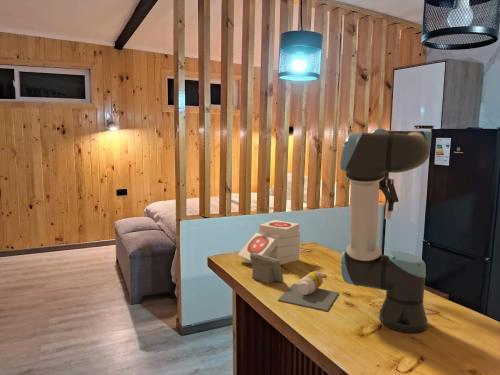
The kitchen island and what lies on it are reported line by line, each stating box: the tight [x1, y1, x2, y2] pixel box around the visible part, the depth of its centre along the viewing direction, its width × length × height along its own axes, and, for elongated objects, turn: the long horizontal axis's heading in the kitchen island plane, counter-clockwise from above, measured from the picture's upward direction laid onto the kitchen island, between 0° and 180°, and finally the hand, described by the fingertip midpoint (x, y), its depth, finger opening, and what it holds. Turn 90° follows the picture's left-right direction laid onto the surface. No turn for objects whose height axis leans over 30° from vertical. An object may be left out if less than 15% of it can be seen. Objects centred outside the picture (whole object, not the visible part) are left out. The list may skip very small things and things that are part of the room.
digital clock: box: [250, 253, 284, 285], centre depth 164 cm, size 16×9×11 cm, turn 37°
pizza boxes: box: [237, 219, 301, 265], centre depth 188 cm, size 19×30×18 cm, turn 127°
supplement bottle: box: [298, 270, 324, 295], centre depth 150 cm, size 7×7×13 cm
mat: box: [277, 283, 340, 312], centre depth 146 cm, size 18×19×1 cm
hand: (374, 217), depth 158 cm, fingers open, 13 cm apart
